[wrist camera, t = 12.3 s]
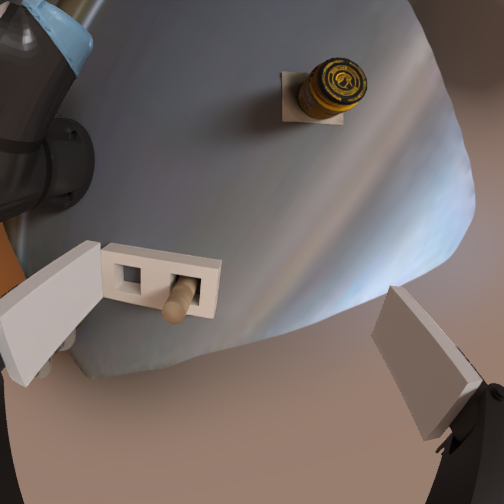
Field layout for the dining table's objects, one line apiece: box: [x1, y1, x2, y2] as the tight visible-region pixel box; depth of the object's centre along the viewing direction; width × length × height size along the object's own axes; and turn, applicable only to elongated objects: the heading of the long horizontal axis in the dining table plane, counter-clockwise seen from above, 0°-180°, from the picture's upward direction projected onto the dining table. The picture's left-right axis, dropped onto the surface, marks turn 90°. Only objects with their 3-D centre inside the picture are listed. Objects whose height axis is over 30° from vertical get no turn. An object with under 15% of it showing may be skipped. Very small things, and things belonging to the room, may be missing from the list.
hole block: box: [101, 243, 222, 319], centre depth 42 cm, size 18×8×4 cm, turn 81°
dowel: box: [161, 275, 199, 324], centre depth 39 cm, size 3×3×10 cm
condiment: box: [282, 58, 367, 125], centre depth 29 cm, size 7×8×12 cm
